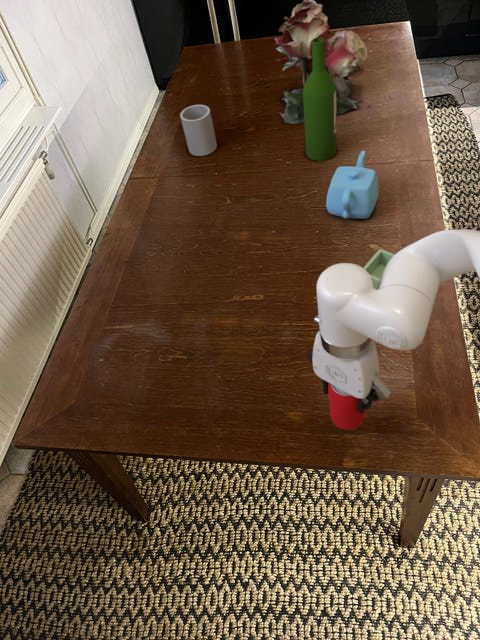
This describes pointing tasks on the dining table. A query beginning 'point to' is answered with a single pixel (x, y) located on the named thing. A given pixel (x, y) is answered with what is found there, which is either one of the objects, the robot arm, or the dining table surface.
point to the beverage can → (344, 409)
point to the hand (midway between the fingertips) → (346, 396)
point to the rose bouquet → (339, 54)
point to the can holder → (378, 265)
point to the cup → (198, 130)
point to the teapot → (353, 191)
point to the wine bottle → (319, 108)
